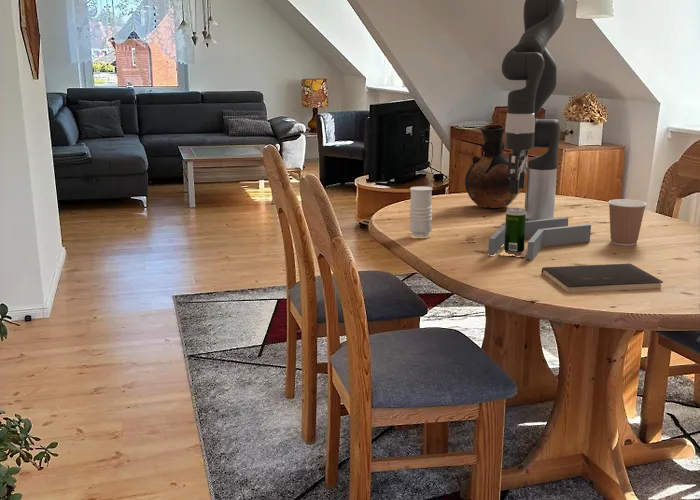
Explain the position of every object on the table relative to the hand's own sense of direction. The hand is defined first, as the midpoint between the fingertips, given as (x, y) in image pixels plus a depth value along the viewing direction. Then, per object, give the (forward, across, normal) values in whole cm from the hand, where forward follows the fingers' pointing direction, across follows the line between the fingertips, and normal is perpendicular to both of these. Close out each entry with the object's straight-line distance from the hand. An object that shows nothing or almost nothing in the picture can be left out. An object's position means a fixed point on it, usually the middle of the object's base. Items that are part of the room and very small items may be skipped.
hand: (516, 190), depth 191 cm
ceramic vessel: (+18, -62, -20) cm, 67 cm away
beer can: (+17, 0, 0) cm, 17 cm away
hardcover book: (+18, +17, +24) cm, 35 cm away
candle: (+18, -9, -30) cm, 36 cm away
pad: (+18, 0, 0) cm, 18 cm away
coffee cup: (+18, -24, +27) cm, 40 cm away
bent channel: (+18, -10, +5) cm, 21 cm away
